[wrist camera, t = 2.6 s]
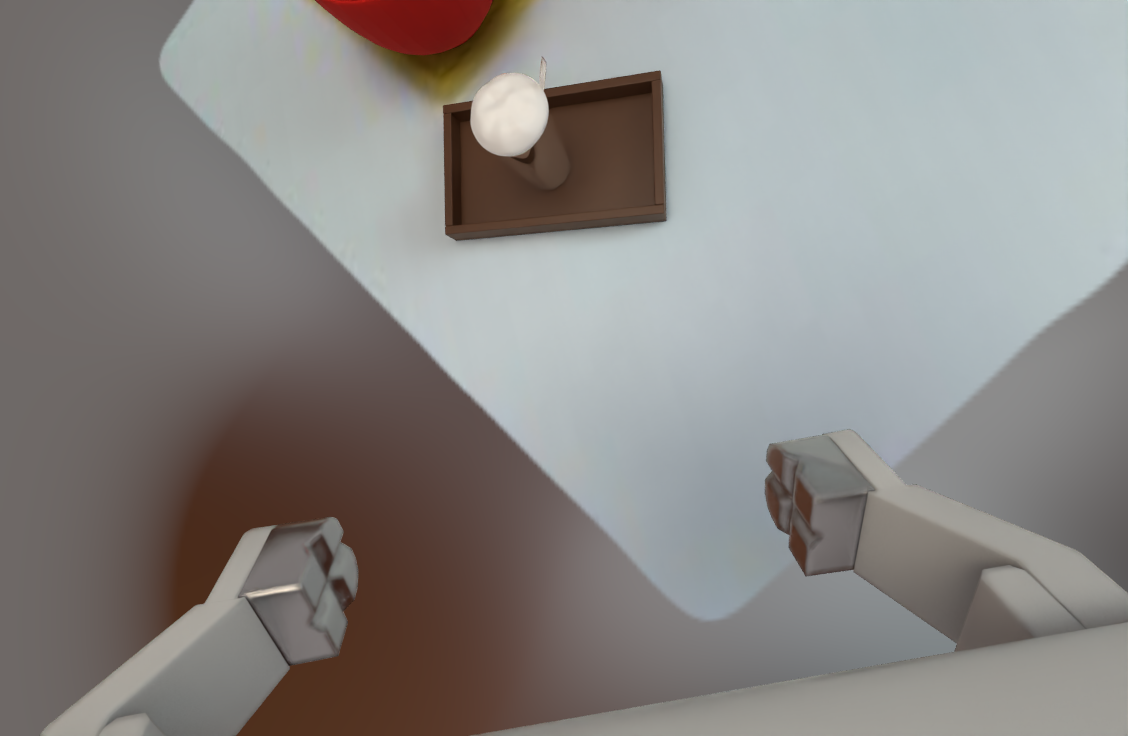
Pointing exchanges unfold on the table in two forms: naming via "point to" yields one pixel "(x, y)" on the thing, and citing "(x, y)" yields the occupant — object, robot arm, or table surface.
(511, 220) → the tray
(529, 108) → the milkshake
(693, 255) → the table surface
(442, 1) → the ceramic cup
